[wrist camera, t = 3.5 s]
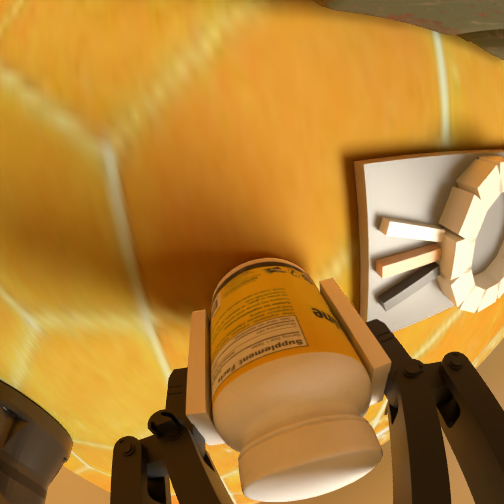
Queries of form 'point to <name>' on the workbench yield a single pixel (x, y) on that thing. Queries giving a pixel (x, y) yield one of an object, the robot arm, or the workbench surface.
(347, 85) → the workbench surface
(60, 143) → the workbench surface
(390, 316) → the junction plate
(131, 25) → the workbench surface
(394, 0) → the fuel can
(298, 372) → the pill bottle
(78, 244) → the workbench surface
